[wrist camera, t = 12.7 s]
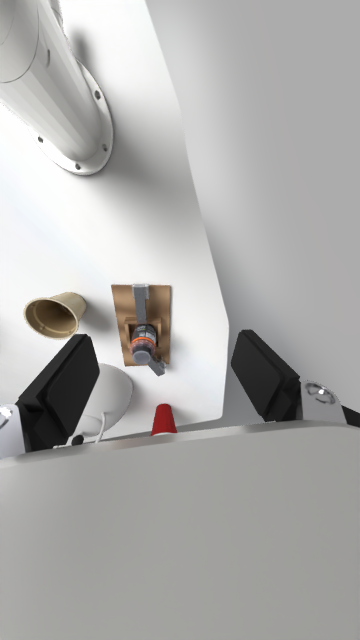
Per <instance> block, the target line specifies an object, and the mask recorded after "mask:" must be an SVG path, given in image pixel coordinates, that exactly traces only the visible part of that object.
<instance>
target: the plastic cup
mask: <svg viewBox="0 0 360 640" xmlns="http://www.w3.org/2000/svg"><path fill="white" fill-rule="evenodd" d="M173 433H177V430H176V427H175V423H174V418H173V414H172V411H171V407H170V405H168V404H160V405H159V406H157V409H156V413H155V417H154V423H153V428H152V432H151V436H156V435H165V434H173Z"/></svg>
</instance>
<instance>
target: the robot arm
mask: <svg viewBox="0 0 360 640" xmlns="http://www.w3.org/2000/svg"><path fill="white" fill-rule="evenodd" d="M62 24H63V19H62V13H61V8H60V2H59V0H0V103H1V104H2V105H3V106H5V107H6V108H7V109H8V110H9V111H10V112H12V113H13V114H14V115H15V116H16V117H17V118H19V119H20V120H21V121H22V122H23V123H24V124H26V125H27V126H28V128H29V130H30V132H31V134H32V136H33V137H34V139H35V140H36V142H37V144H38V145H39V146H40V148H41V149H42V150H43V151H44V152H45V154H46V155H47V156H48V157H49V158H50V159H52V160H53V161H54V162H55V163H56V164H58V165H59V166H60V167H62V168H64V169H65V170H67V171H69V172H72V173H74V174H78V175H91V174H94V173H96V172H98V171H99V170H101V169H102V168H103V167H104V166H105V164H106V163H107V161H108V159H109V157H110V155H111V151H112V147H113V126H112V120H111V115H110V112H109V109H108V106H107V103H106V101H105V98H104V95H103V93H102V92H101V90H100V88H99V86H98V84H97V82H96V81H95V79H94V78H93V76H92V75H91V73H90V72H89V71H88V70H87V69H86V68H85V67H84V66H83V64H82V63H81V62H79V61H78V60H77V59H76V58H74V56H73V54H72V52H71V49H70V46H69V41H68V39H67V37H66V35H65V34H64V30H63V25H62ZM98 98H100V100H98ZM43 141H44V143H43ZM105 149H107V151H105ZM79 167H81V169H80V170H79ZM231 367H232V369H233V370H234V372H235V374H236V376H237V377H238V379H239V381H240V383H241V384H242V386H243V388H244V390H245V392H246V393H247V395H248V397H249V399H250V400H251V402H252V404H253V406H254V407H255V409H256V411H257V413H258V414H259V415H260V416H262V418H263V419H264V421H265V422H269V421H274V420H275V421H276V422H272V423H263V424H254V425H245V426H235V427H226V428H217V429H208V430H199V431H192V432H182V433H173V434H165V435H156V436H147V437H140V438H131V439H123V440H115V441H106V442H98V443H91V444H90V443H89V444H82V445H75V446H68V447H61V448H53V447H54V446H59V445H66V443H67V441H68V438H69V437H70V436H72V435H73V434H74V432H75V430H76V427H77V425H78V423H79V421H80V418H81V416H82V414H83V411H84V409H85V407H86V405H87V402H88V400H89V398H90V395H91V393H92V391H93V388H94V386H95V384H96V382H97V379H98V377H99V374H100V369H99V365H98V361H97V358H96V354H95V351H94V347H93V343H92V340H91V337H90V336H88V335H87V334H75V335H73V336H72V338H71V339H70V340H69V341H68V342H67V343H66V344H65V346H64V347H63V348H62V349H61V350H60V351H59V352H58V353H57V355H56V356H55V357H54V358H53V359H52V360H51V361H50V363H49V364H48V365H47V366H46V367H45V368H44V369H43V370H42V372H41V373H40V374H39V375H38V376H37V377H36V378H35V379H34V381H33V382H32V383H31V384H30V385H29V386H28V387H27V389H26V390H25V391H24V392H23V393H22V394H21V395H20V396H19V400H18V401H17V402H16V403H15V405H14V404H4V405H0V640H360V413H358V412H355V411H353V410H351V409H349V408H347V407H344V406H342V405H341V404H340V401H339V399H338V398H337V396H336V395H335V394H334V393H333V392H332V391H331V390H329V389H328V388H327V387H325V386H323V385H321V384H319V383H317V382H314V381H308V380H307V381H303V382H302V383H301V382H300V381H299V378H300V376H299V375H298V374H297V373H296V372H295V371H294V370H293V369H292V368H290V366H289V365H287V363H286V362H285V361H283V360H282V359H281V358H280V357H279V356H278V355H277V354H276V353H275V352H274V351H273V350H272V349H271V348H270V347H269V346H268V345H267V344H266V343H265V342H264V341H263V340H262V339H261V338H260V337H259V336H258V335H257V334H256V333H255V332H254V331H253V330H242V331H241V332H240V333H239V334H238V338H237V342H236V345H235V349H234V353H233V356H232V360H231Z"/></svg>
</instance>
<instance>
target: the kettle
mask: <svg viewBox="0 0 360 640" xmlns="http://www.w3.org/2000/svg"><path fill="white" fill-rule="evenodd" d="M98 365H99V369H100V374H99V377H98V379H97V382H96V384H95V386H94V388H93V391H92V393H91V395H90V398H89V400H88V402H87V405H86V407H85V409H84V411H83V414H82V416H81V418H80V421H79V423H78V425H77V427H76V430H75V432H74V434H73V435H72V436H73V437H74V438H73V440H72V443H71V444H72V446H75V445H82V443H83V441H84V438H88V437H93V436H96V435H98V434H99V436H98V438H97V440H96V442H95V443H98V442H100V440H101V437H102V435H103V433H104V432H105V431H106V430H108V429H109V428H111V427H112V426H113V425H115V424H116V423H117V422H118V421H119V420H120V419H121V417H122V416H123V415H124V413H125V412H126V410H127V408H128V406H129V403H130V400H131V396H132V392H133V383H132V381H131V379H130V377H129V376H128V375H127V374H126V373H125V372H123V371H122V370H120V369H118V368H116V367H114V366H111V365H107V364H101V363H98ZM54 448H58V446H55V447H54Z"/></svg>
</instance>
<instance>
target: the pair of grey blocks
mask: <svg viewBox="0 0 360 640" xmlns="http://www.w3.org/2000/svg"><path fill="white" fill-rule="evenodd" d="M132 292H133V299H135V307H136V317H137V324H147V310H146V299H149V284H133V286H132ZM147 365H148V366H149V367H150V368H151V369H152V370H153V371H154V372H155V373H156V375H157V376H160V375H163V374H165V370H164V368H166V361H165V360H164V358H163V357H162V356H160V357H158V358H156V357H155V356H154V355H153V356H152V357H151V359H150V361H149V362H148V363H147Z"/></svg>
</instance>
